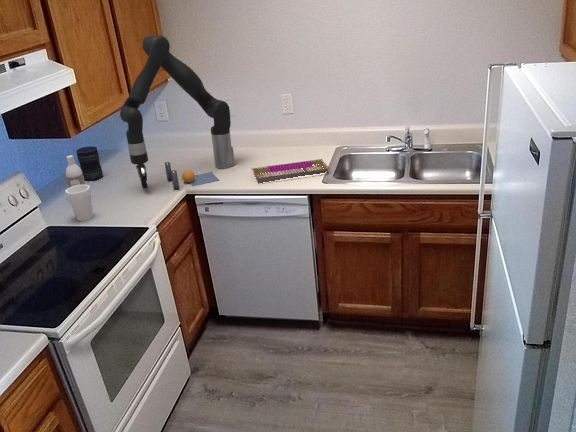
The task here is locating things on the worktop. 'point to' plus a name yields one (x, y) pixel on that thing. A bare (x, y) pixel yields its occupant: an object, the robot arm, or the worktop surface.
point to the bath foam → (74, 173)
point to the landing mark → (204, 179)
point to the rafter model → (289, 167)
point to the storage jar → (89, 163)
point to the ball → (188, 176)
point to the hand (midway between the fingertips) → (144, 187)
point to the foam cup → (80, 201)
